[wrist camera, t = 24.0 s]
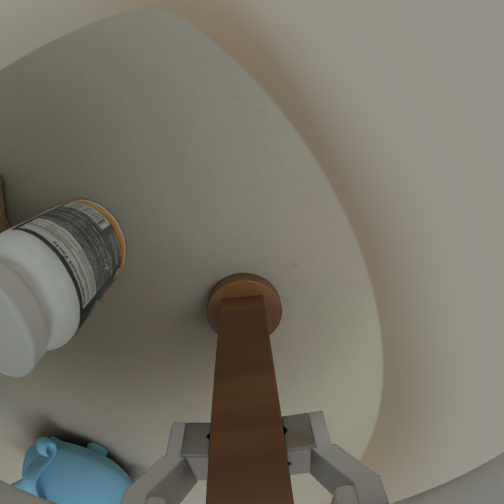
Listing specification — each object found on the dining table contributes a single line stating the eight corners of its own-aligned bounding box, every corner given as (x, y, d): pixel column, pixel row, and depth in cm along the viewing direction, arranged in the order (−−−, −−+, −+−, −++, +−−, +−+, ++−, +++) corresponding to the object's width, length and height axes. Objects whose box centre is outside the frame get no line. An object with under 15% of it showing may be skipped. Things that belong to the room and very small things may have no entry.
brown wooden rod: (202, 276, 18) (155, 515, 5) (277, 269, 18) (339, 506, 5) (214, 337, 20) (197, 552, 7) (281, 330, 20) (324, 544, 7)
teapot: (129, 420, 23) (98, 534, 12) (185, 497, 29) (178, 575, 18) (-7, 403, 23) (-47, 470, 12) (60, 479, 29) (40, 539, 18)
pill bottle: (76, 294, 18) (-3, 393, 9) (38, 218, 16) (-71, 283, 7) (145, 268, 18) (74, 382, 9) (105, 180, 16) (-14, 231, 7)
